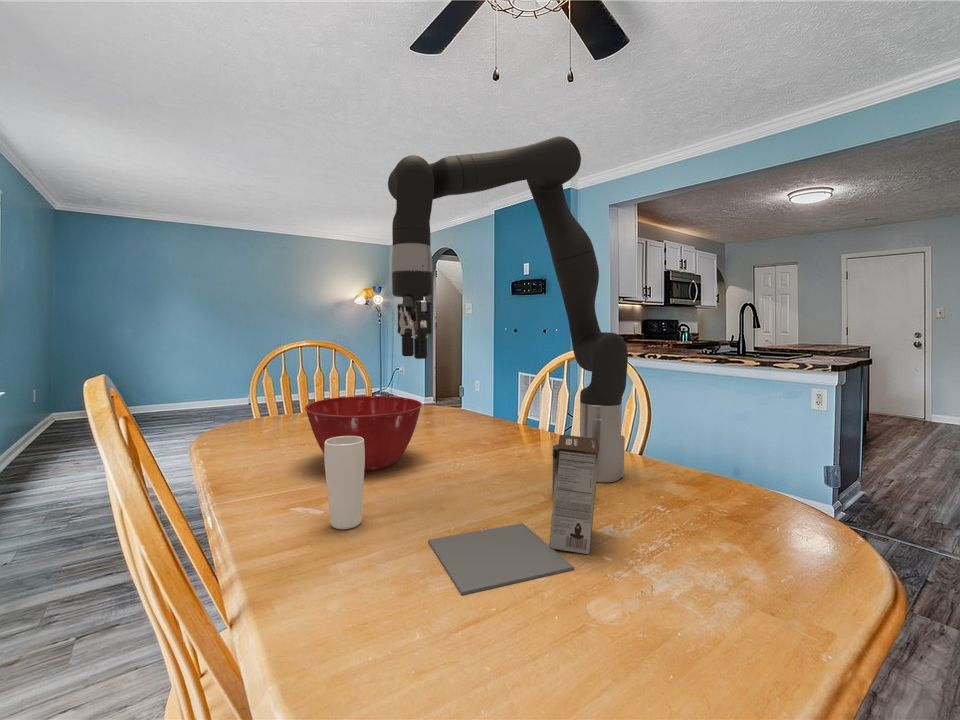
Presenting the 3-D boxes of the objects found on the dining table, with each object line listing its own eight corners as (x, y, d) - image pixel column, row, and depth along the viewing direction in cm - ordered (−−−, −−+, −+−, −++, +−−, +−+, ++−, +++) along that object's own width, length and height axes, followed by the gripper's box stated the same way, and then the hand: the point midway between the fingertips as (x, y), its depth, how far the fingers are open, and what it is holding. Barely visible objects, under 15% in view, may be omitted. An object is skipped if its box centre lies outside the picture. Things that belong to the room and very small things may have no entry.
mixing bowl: (445, 459, 122) (444, 400, 121) (363, 491, 98) (362, 418, 97) (368, 444, 137) (367, 392, 136) (281, 469, 113) (279, 406, 112)
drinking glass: (373, 519, 84) (372, 437, 83) (351, 535, 77) (349, 446, 76) (341, 514, 86) (339, 434, 85) (317, 529, 80) (315, 443, 78)
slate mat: (522, 525, 81) (522, 523, 81) (574, 569, 66) (574, 566, 66) (428, 542, 75) (428, 539, 75) (461, 595, 60) (461, 592, 60)
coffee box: (551, 524, 80) (559, 433, 79) (589, 530, 79) (597, 437, 78) (548, 549, 71) (557, 446, 70) (591, 555, 70) (600, 452, 69)
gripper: (444, 267, 82) (445, 359, 83) (420, 275, 95) (421, 354, 96) (402, 265, 79) (404, 360, 80) (383, 274, 92) (385, 356, 93)
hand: (413, 357), depth 88 cm, fingers open, 8 cm apart
